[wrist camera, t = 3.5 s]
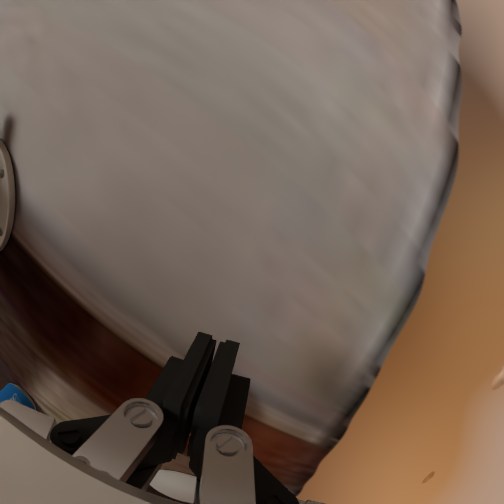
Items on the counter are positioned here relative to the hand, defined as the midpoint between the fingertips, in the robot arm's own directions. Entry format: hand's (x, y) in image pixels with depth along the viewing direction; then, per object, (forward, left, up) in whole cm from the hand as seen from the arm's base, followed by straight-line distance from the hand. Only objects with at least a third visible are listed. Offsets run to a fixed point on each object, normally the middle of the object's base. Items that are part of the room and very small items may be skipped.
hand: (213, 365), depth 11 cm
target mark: (+34, -1, -9) cm, 36 cm away
